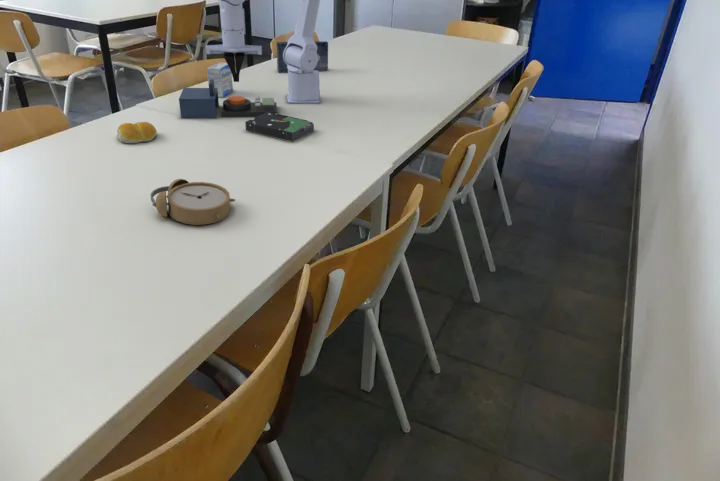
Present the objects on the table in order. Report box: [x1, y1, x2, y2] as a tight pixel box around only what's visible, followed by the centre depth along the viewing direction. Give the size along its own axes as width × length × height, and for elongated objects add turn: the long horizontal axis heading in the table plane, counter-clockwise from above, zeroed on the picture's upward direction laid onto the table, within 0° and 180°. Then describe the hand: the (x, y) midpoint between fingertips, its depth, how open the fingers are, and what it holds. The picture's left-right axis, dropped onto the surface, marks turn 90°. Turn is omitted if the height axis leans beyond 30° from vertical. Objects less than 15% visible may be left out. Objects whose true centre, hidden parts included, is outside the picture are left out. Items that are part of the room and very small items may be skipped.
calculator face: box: [254, 96, 275, 106], centre depth 154 cm, size 5×8×1 cm, turn 9°
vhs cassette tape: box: [276, 40, 329, 74], centre depth 195 cm, size 18×3×10 cm, turn 108°
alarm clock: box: [150, 178, 236, 226], centre depth 103 cm, size 11×5×15 cm
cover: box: [178, 79, 220, 119], centre depth 151 cm, size 9×11×9 cm
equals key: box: [227, 95, 246, 105], centre depth 153 cm, size 5×5×1 cm
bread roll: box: [116, 121, 158, 144], centre depth 134 cm, size 8×9×4 cm
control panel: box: [221, 98, 278, 118], centre depth 155 cm, size 15×9×3 cm, turn 99°
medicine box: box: [206, 61, 234, 98], centre depth 167 cm, size 8×4×9 cm, turn 168°
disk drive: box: [245, 112, 315, 142], centre depth 142 cm, size 10×3×15 cm
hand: (236, 80), depth 151 cm, fingers closed
